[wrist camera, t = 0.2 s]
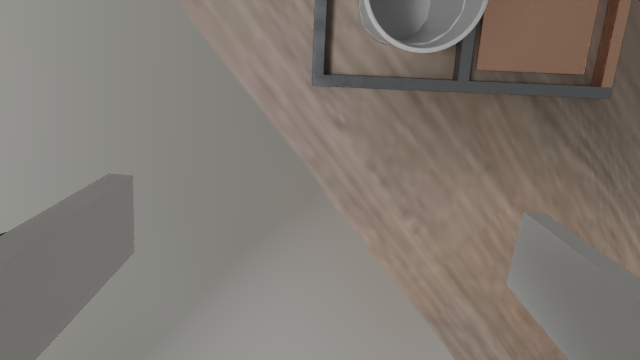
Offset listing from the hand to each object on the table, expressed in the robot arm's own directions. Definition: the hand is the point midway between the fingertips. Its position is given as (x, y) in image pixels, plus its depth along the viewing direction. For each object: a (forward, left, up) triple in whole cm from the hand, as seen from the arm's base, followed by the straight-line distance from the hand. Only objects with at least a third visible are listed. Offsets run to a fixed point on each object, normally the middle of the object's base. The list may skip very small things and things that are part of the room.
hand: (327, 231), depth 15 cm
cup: (-10, +6, -28) cm, 30 cm away
